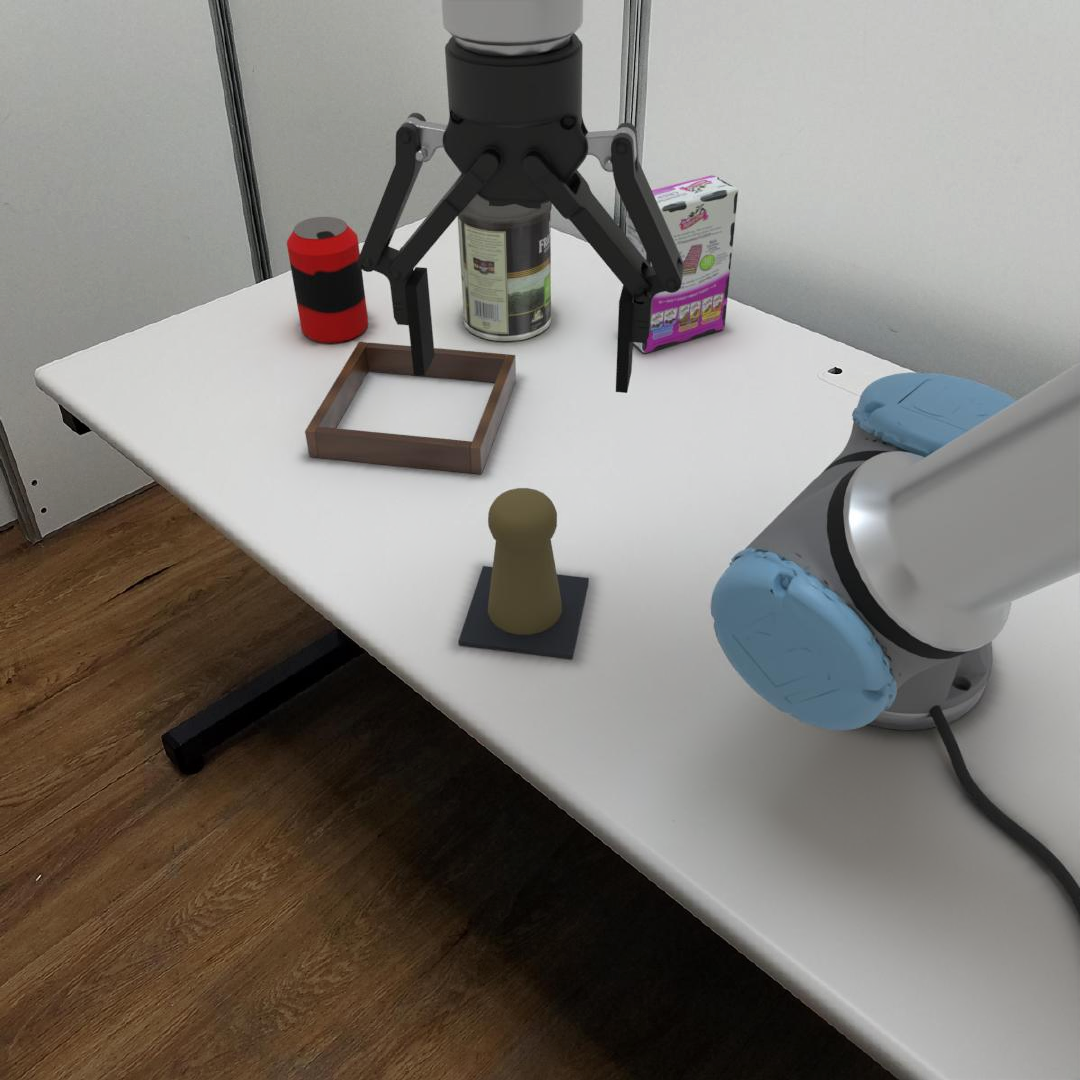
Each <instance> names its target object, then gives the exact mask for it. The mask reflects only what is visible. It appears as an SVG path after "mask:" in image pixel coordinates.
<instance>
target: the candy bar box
mask: <svg viewBox="0 0 1080 1080" xmlns="http://www.w3.org/2000/svg"><path fill="white" fill-rule="evenodd" d="M651 190H652V192H653V195H654V197H655V199H656V201H657V204H658V206H659V208H660V210H661V213H662V215H663V217H664V220H665V222H666V224H667V226H668V229H669V231H670V233H671V235H672V238H673V240H674V242H675V244H676V247H677V249H678V251H679V253H680V256H681V258H682V260H683V262H684V272H683V278H682V283H681V287H680V289H679V290H678V291H676V292H674V293H669V292H666V291H664V292H660V293H658V294H656V295H655V296H654V297H653V302H652V319H651V329H650V334H649V337H648V339H647V341H646V343H637V342H633V346H635V347H636V348H637V349H638V350H639V351H640V352H642V353H643V354H647V353H648V354H649V353H651V352H654V351H657V350H661V349H664V348H667V347H670V346H673V345H674V346H675V345H676V344H677V345H678V344H680V343H683V342H686V341H689V340H693V339H695V338H699V337H702V336H705V335H708V334H711V333H714V332H718V331H721V330H723V329H725V328H726V318H727V317H726V316H727V306H728V297H729V287H730V277H731V267H732V266H731V265H732V257H733V256H732V255H733V246H734V238H735V237H734V236H735V227H736V215H737V205H738V195H739V189H738V188H737V187H735V186H733V185H731V184H730V183H728V182H727V181H724V180H723V179H720V177H719V176H716V175H712V174H711V175H707V176H703V177H699V178H696V179H691V180H687V181H683V182H680V183H675V184H670V185H667V186H663V187H659V188H656V189H651ZM624 234H625V235H626V236H627V237H628V239H629V240H630V241H631V242H632V243H633V245H634V246H635V247H636V248H637V250H638V251H639V252H640V253H641V255H642V256H643V257H644V258H645V260H646V261H647V262H648V263H649V265H650V266H652V264H651V262H650V260H649V258H648V255H647V253H646V251H645V249H644V247H643V245H642V242H641V240H640V238H639V236H638V234H637V232H636V229H635V227H634V225H633V223H632V221H631V218H630V216H629V214H628V212H627V210H626V209H625V232H624Z"/></svg>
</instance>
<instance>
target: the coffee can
mask: <svg viewBox="0 0 1080 1080" xmlns="http://www.w3.org/2000/svg"><path fill="white" fill-rule="evenodd" d="M552 205H553V204H552V203H551V202H550V203H548V204H545V205H542V206H541V209H537V208H526V207H523V206H520V205H517V204H511V205H506V206H489V202H488V201H485V200H484V199H482V198H481V197H479V196H478V195H477V194H476V196H475V197H474V198H473V199H472V200H471V202H470V203H469V204H468V205H467V206H466V208H465V209H464V210H463V211H462V212H461V213H460V214H459V215H458V216H457V231H458V245H459V247H458V248H459V260H460V261H459V262H460V279H461V292H462V307H463V317H462V320H463V325H464V327H465V329H466V330H467V331H468V332H470V333H471V334H473V335H474V336H476V337H479V338H481V339H485V340H489V341H493V342H494V341H495V342H516V341H524V340H528V339H530V338H534V337H536V336H538V335H540V334H542V333H543V332H545V331H546V330H547V329H548V328H549V327H550V325H551V324H552V320H553V316H552V299H551V298H552V293H551V292H552V291H551V290H552V284H551V283H552V281H551V278H552V277H551V273H552V272H551V271H552V270H551V269H552V267H551V264H552V263H551V262H552V257H551V256H552V250H551V249H552V248H551V247H552V246H551V244H552V242H551V238H552V237H551V232H552V231H551V226H552V225H551V222H552V221H551V219H552V218H551V215H552V214H551V211H552Z"/></svg>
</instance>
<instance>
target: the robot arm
mask: <svg viewBox="0 0 1080 1080" xmlns="http://www.w3.org/2000/svg"><path fill="white" fill-rule="evenodd" d="M441 12H442V13H441V14H442V26H443V29H444V30H445V31H446V32H447V33H449V34H450V36H451V37H450V38H449V40H448V42H447V43H446V44H445V46H444V54H445V55H444V56H445V69H446V70H445V71H446V86H447V99H448V114H449V117H448V122H447V124H443V123H436V122H430V121H427V119H426V118H425V116H423V114H422V113H419V112H411V113H410V114H409V115H408V117H406V118H405V120H404V121H403V123H402V124H401V125H400V127H399V128H398V129H397V131H396V133H395V164H394V167H393V170H392V172H391V174H390V177H389V180H388V182H387V185H386V187H385V190H384V192H383V194H382V197H381V200H380V203H379V205H378V207H377V210H376V213H375V215H374V218H373V220H372V222H371V224H370V228H369V230H368V233H367V235H366V238H365V240H364V243H363V246H362V248H361V249H360V255H359V258H358V265H359V267H360V268H361V269H362V272H366V273H371V272H373V271H374V272H376V273H379V274H381V275H383V276H385V277H386V279H387V280H388V282H389V285H390V295H391V296H390V297H391V303H392V304H391V305H392V314H393V319H394V321H395V322H396V324H397V326H399V325H400V326H408V333H409V342H410V343H409V344H410V346H411V353H412V363H413V373H414V375H413V376H417V375H418V376H419V377H426V376H425V374H426V372H427V370H428V368H429V366H430V364H431V362H432V360H433V358H434V356H435V354H434V348H435V345H434V344H435V343H434V333H433V319H432V310H431V300H430V288H429V286H430V285H429V276H428V267H419V266H417V265H418V264H419V263H420V262H421V260H422V259H423V258H424V257H425V256H426V255H427V253H429V251H430V250H431V248H432V247H433V246H435V244H436V242H437V241H438V240H440V237H442V235H443V234H444V233H445V231H446V230H447V229H448V228H449V227H450V226H451V225H452V223H453V222H454V221H455V220H456V219H457V218H458V215H459V214H460V213H461V212H462V211H463V210H464V209H465V208H466V206H467V205H468V204H469V203H470V202H471V200H472V199H473V198H474V197H475V196H476V194H477V195H478V196H479V197H481V198H482V199H484V200H485V201H488V202H489V206H506V205H511V204H517V205H520V206H523V207H526V208H537V209H541V206H542V205H545V204H548V203H550V202H551V203H552V205H553V206H554V208H555V209H556V210H557V211H558V213H559V214H560V215H561V216H562V217H563V218H564V219H565V220H568V221H570V222H571V224H572V225H573V226H574V227H575V228H576V229H577V231H578V232H579V233H580V234H581V236H582V237H583V238H584V239H585V240H586V242H587V243H588V244H589V245H590V247H591V248H592V249H593V250H594V251H595V253H596V254H597V255H598V256H599V258H600V259H601V260H602V261H603V262H604V263H605V264H606V266H607V267H608V268H609V270H610V271H611V272H612V273H613V274H614V275H615V277H616V278H617V279H618V280H619V281H620V284H622V288H621V292H620V295H619V296H620V297H619V300H618V317H617V318H618V319H617V343H616V344H617V345H616V346H617V347H616V368H615V369H616V370H615V373H616V374H615V393H621V394H627V393H628V390H629V386H630V381H631V377H632V369H633V350H634V344H633V342H637V343H646V341H647V339H648V337H649V334H650V329H651V319H652V302H653V297H654V296H655V295H656V294H658V293H660V292H664V291H666V292H669V293H674V292H676V291H678V290H679V289H680V287H681V283H682V278H683V272H684V262H683V260H682V258H681V256H680V253H679V251H678V249H677V247H676V244H675V242H674V240H673V238H672V235H671V233H670V231H669V229H668V226H667V224H666V222H665V220H664V217H663V215H662V213H661V210H660V208H659V206H658V204H657V201H656V199H655V197H654V195H653V192H652V190H653V189H652V188H651V186H650V184H649V183H650V182H649V181H648V178H647V177H646V174H645V172H644V170H643V168H642V166H641V163H640V161H639V159H640V158H639V145H638V131H637V128H636V127H635V125H634V124H633V123H631V122H622V123H620V124H619V125H618V126H617V128H616V129H613V130H599V131H589V130H588V128H587V126H586V125H585V122H584V118H583V49H584V46H583V42H582V41H581V40H580V38H579V37H578V35H576V32H577V31H578V30H579V29H580V28H581V27H582V25H583V23H584V0H441ZM440 148H443V150H444V152H445V153H446V155H447V156H448V158H449V159H450V160H451V162H452V163H453V164H454V166H455V168H457V169H458V171H459V172H460V174H459V176H458V177H457V179H456V180H455V181H454V183H453V184H452V185H451V186H450V187H449V189H448V190H447V191H446V193H445V194H444V195H443V196H442V197H441V199H439V202H437V204H436V205H435V206H434V208H432V209H431V211H430V212H429V214H427V216H426V217H425V219H424V220H423V221H422V222H421V223H420V225H419V226H418V227H417V228H416V230H415V231H414V232H413V233H412V234H411V235H410V237H408V239H407V240H406V242H405V243H404V244H403V246H401V247H400V249H396V248H394V247H392V246H390V244H391V241H392V239H393V236H394V234H395V232H396V229H397V226H398V224H399V223H400V219H401V218H402V215H403V213H404V210H405V207H406V205H407V202H408V201H409V199H410V198H409V197H410V195H411V193H412V190H413V188H414V186H415V183H416V181H417V179H418V176H419V174H420V172H421V169H422V166H423V163H427V162H429V161H430V160H431V159H432V157H434V154H435V153H436V152H437V149H440ZM587 156H593V157H595V158H596V159H597V160H598V162H599V164H600V167H601V169H602V170H604V171H605V172H608V173H612V176H613V180H614V185H615V187H616V189H617V192H618V194H619V197H620V199H621V201H622V203H623V206H624V207H625V211H626V210H627V212H628V214H629V216H630V218H631V221H632V223H633V225H634V227H635V229H636V232H637V234H638V236H639V238H640V240H641V242H642V245H643V247H644V249H645V251H646V253H647V255H648V258H649V260H650V262H651V264H652V266H650V265H649V263H648V262H647V261H646V260H645V258H644V257H643V256H642V255H641V253H640V252H639V251H638V250H637V248H636V247H635V246H634V245H633V243H632V242H631V241H630V240H629V239H628V237H627V236H626V235H625V232H624V231H623V230H622V228H621V227H620V226H619V225H618V223H617V222H616V221H615V219H614V218H613V217H612V216H611V215H610V213H609V212H608V211H607V210H606V208H604V206H603V205H602V204H601V202H600V200H598V199H597V197H596V196H595V195H594V194H593V192H592V190H591V188H590V185H589V183H588V182H587V180H586V178H584V176H582V175H583V174H581V173H580V171H579V170H578V169H579V168H580V167H581V166H582V164H583V163H584V161H585V160H586V158H587ZM851 417H852V421H853V423H852V428H851V432H850V436H849V437H848V441H847V443H846V445H845V447H844V448H843V450H842V451H841V452H840V454H838V456H837V457H836V458H835V459H834V460H832V462H830V464H828V466H827V467H826V468H825V469H824V470H823V471H822V472H821V473H820V474H819V475H818V476H817V477H816V478H814V479H813V480H812V481H811V482H810V483H809V484H808V485H807V486H806V487H805V488H804V489H803V490H802V491H801V492H800V493H799V494H798V495H797V496H796V497H795V498H794V499H793V500H792V501H791V502H790V503H789V504H788V505H787V506H786V507H785V508H784V509H783V510H782V511H781V512H780V513H779V514H778V515H776V517H775V518H774V519H773V520H772V521H771V522H770V523H769V524H768V525H767V526H766V527H765V528H764V529H763V530H762V531H761V532H760V533H759V534H758V535H757V536H756V537H755V538H754V539H753V540H752V541H751V542H750V543H749V544H748V545H747V546H746V547H745V548H744V549H742V550H740V551H738V552H737V553H736V554H734V556H733V557H732V558H731V561H730V562H729V564H728V565H729V566H728V567H727V568H726V569H725V571H724V572H723V573H722V575H721V576H720V577H719V579H718V580H717V582H716V584H715V586H714V588H713V590H712V594H711V599H710V614H711V617H712V619H713V630H714V633H715V637H716V639H717V643H718V644H719V646H720V648H721V650H722V651H723V653H724V655H725V657H726V659H727V660H728V662H729V663H730V665H731V666H732V668H733V669H734V670H735V672H736V673H737V674H738V675H739V676H740V678H742V680H743V681H744V682H745V683H746V684H747V685H748V686H749V687H750V688H751V689H752V690H753V691H754V693H756V694H757V695H759V696H760V697H761V698H762V699H764V700H765V701H766V702H767V703H768V704H770V706H771V705H772V707H774V708H776V709H777V710H779V711H780V712H782V713H786V714H788V715H790V716H792V717H793V718H794V719H796V720H797V721H799V722H802V723H804V724H806V725H810V726H812V727H815V728H819V729H824V730H829V731H850V730H856V729H860V728H863V727H865V726H867V725H870V726H872V727H873V726H875V727H878V728H884V729H891V730H903V731H904V730H905V731H913V730H925V729H931V728H936V730H937V732H938V733H939V736H940V738H941V741H942V742H943V745H944V747H945V749H946V751H947V754H948V756H949V759H950V762H951V765H952V768H953V771H954V772H955V775H956V777H957V779H958V781H959V783H960V784H961V786H962V788H963V789H964V790H965V792H966V793H967V795H968V796H969V797H970V798H971V800H972V801H973V802H974V803H975V804H976V805H977V807H978V808H979V809H981V811H982V812H983V813H984V814H985V815H986V816H987V817H988V818H990V819H991V820H992V821H993V822H994V823H995V824H997V825H998V826H999V827H1000V828H1001V829H1003V830H1004V831H1005V832H1006V833H1008V834H1009V835H1010V836H1011V837H1012V838H1014V839H1015V840H1017V841H1018V842H1019V843H1020V844H1021V845H1022V846H1024V847H1025V848H1027V849H1028V850H1029V851H1030V852H1031V853H1032V854H1033V855H1035V857H1037V858H1038V859H1039V860H1040V861H1041V862H1042V863H1043V864H1044V865H1045V867H1046V868H1048V870H1050V872H1051V873H1052V874H1053V875H1054V877H1055V878H1056V879H1057V880H1058V882H1059V883H1060V885H1061V886H1062V888H1063V889H1064V891H1066V892H1065V893H1067V895H1068V896H1069V898H1070V899H1071V901H1072V903H1073V905H1074V907H1075V909H1076V910H1077V912H1078V915H1080V885H1079V884H1078V882H1077V881H1076V880H1075V878H1074V877H1073V876H1072V874H1071V873H1070V872H1069V870H1068V869H1067V868H1066V866H1065V865H1064V864H1063V863H1062V862H1061V861H1060V860H1059V858H1057V856H1056V855H1055V854H1054V853H1053V852H1051V850H1050V849H1049V848H1047V847H1046V846H1045V845H1044V844H1043V843H1042V842H1041V841H1040V840H1038V839H1037V838H1036V837H1035V836H1033V834H1031V833H1030V832H1028V831H1027V830H1026V829H1024V827H1022V826H1021V825H1019V824H1018V823H1017V822H1016V821H1015V820H1013V819H1012V818H1010V817H1009V816H1008V815H1007V814H1006V813H1004V812H1003V811H1002V810H1001V809H1000V808H999V807H998V806H997V805H996V804H995V803H993V802H992V800H990V799H989V798H988V796H987V795H986V794H985V793H984V792H983V791H982V790H981V789H980V787H979V785H978V784H977V783H976V782H975V779H973V777H972V775H971V774H970V772H969V770H968V768H967V767H968V766H967V765H966V762H965V760H964V756H963V754H962V752H961V749H960V747H959V744H958V742H957V740H956V738H955V736H954V733H953V732H952V731H953V730H952V729H951V727H950V725H949V723H951V722H954V721H955V720H958V719H959V718H961V717H963V716H964V715H966V714H967V713H968V712H970V711H971V710H972V709H973V708H974V707H975V706H976V705H977V703H978V702H979V701H980V699H981V697H982V695H983V694H984V692H985V689H986V687H987V683H988V680H989V678H990V676H991V673H992V668H993V662H994V661H993V660H994V659H993V640H995V639H996V638H997V637H998V636H999V634H1001V632H1002V631H1003V630H1004V627H1005V625H1006V624H1007V622H1008V620H1009V615H1010V613H1011V610H1012V603H1013V602H1015V601H1016V600H1018V599H1021V598H1023V597H1026V596H1028V595H1030V594H1033V593H1035V592H1037V591H1039V590H1042V589H1044V588H1046V587H1049V586H1051V585H1053V584H1057V583H1058V582H1061V581H1063V580H1065V579H1067V578H1070V577H1073V576H1075V575H1076V574H1079V573H1080V361H1078V362H1077V363H1076V364H1074V365H1073V366H1071V367H1069V368H1068V369H1066V370H1064V371H1063V372H1061V373H1060V374H1058V375H1056V376H1055V377H1052V379H1049V380H1048V381H1046V382H1045V383H1043V384H1042V385H1040V386H1038V387H1037V388H1036V389H1034V390H1032V391H1030V392H1029V393H1027V394H1026V395H1024V396H1022V397H1020V398H1019V399H1018V400H1017V399H1015V398H1014V397H1012V396H1011V395H1009V394H1007V393H1005V392H1003V391H1000V390H998V389H996V388H994V387H992V386H989V385H986V384H983V383H981V382H977V381H975V380H971V379H968V378H963V377H959V376H955V375H950V374H943V373H933V372H921V371H920V372H915V371H914V372H900V373H894V374H890V375H886V376H882V377H880V378H878V379H876V380H874V381H872V382H871V383H870V384H868V385H867V386H866V387H865V389H864V390H863V391H862V392H861V394H860V397H859V399H858V403H857V405H856V407H855V408H854V409H853V411H852V414H851Z"/></svg>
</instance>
